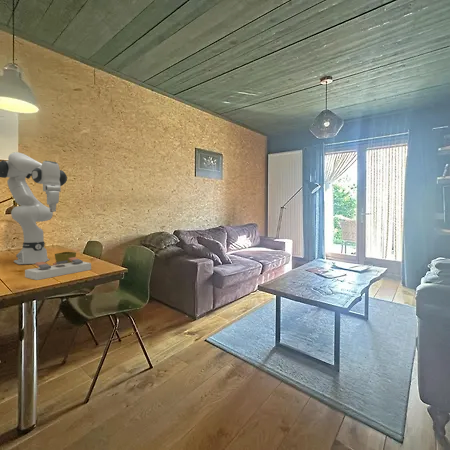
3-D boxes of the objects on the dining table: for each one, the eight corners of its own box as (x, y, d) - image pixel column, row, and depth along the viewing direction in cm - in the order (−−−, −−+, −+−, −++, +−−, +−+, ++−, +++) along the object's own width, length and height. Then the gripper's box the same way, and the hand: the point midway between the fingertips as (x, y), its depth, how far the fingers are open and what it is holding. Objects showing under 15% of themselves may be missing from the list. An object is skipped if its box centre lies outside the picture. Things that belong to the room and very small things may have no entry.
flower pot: (66, 268, 165) (65, 254, 164) (54, 267, 166) (54, 253, 166) (76, 265, 173) (76, 252, 173) (65, 265, 175) (65, 251, 175)
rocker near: (35, 264, 144) (35, 262, 143) (43, 263, 147) (43, 261, 147) (42, 269, 140) (42, 267, 140) (50, 268, 143) (50, 266, 143)
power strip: (25, 277, 141) (24, 269, 141) (84, 266, 170) (84, 259, 170) (36, 280, 135) (36, 271, 135) (96, 268, 165) (96, 261, 164)
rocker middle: (52, 265, 151) (52, 263, 151) (60, 264, 155) (59, 262, 155) (60, 263, 147) (60, 261, 148) (67, 262, 151) (67, 260, 151)
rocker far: (68, 259, 159) (68, 257, 159) (75, 258, 163) (75, 257, 163) (76, 264, 155) (76, 262, 155) (82, 262, 159) (82, 261, 159)
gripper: (43, 189, 162) (44, 212, 162) (47, 186, 146) (48, 211, 146) (55, 190, 166) (56, 212, 166) (60, 187, 150) (61, 211, 150)
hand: (52, 211), depth 156 cm, fingers open, 8 cm apart
